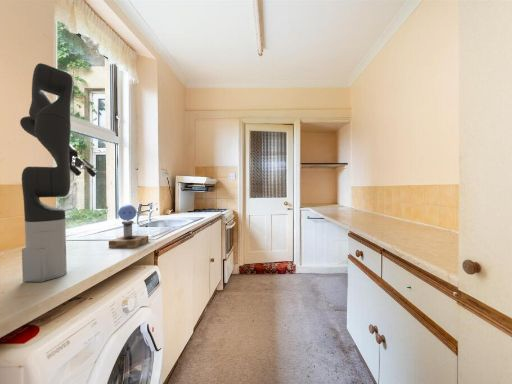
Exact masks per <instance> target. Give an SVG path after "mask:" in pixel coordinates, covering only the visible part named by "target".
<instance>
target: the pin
mask: <svg viewBox="0 0 512 384" xmlns="http://www.w3.org/2000/svg"><path fill="white" fill-rule="evenodd" d="M133 224H134V220H129V221H126V220H122V221H121V225H123V236H124V239H132V236H133Z"/></svg>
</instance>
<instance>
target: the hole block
mask: <svg viewBox="0 0 512 384" xmlns="http://www.w3.org/2000/svg"><path fill="white" fill-rule="evenodd" d="M148 241H150V239H149V235H132V239H124V235H123V236H119V237H116V238H113V239H111V240H108V248H109V249H110V248H111V249H115V248H116V249H136V248H138V247H140V246H142V245H144V243H145V244H146V242H147V243H149V242H148Z"/></svg>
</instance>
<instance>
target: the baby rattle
mask: <svg viewBox="0 0 512 384" xmlns="http://www.w3.org/2000/svg"><path fill="white" fill-rule="evenodd" d="M117 214H118V217H119V219H121V220H122V221H133V219H135V217H136V216H137V208H135V206H134V205H132V204H124V205H122V206H121V207H120V208H119V209H118V212H117Z"/></svg>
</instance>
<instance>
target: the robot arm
mask: <svg viewBox="0 0 512 384" xmlns="http://www.w3.org/2000/svg"><path fill="white" fill-rule="evenodd" d="M73 91H74V78H73V76H72V75H71V74H70V73H68V72H67V71H64V70H61V69H58V68H56V67H53V66H51V65H49V64H46V63H42V62H40V63H37V64H36V65H35V67H34V70H33V74H32V81H31V102H30V107H29V109H28V110H29V111H28V116H24V117H22V118H20V120H19V123H20V124H19V125H20V127H21V128H22V129H23V130H24V132H25V133H28V134H29V135H31V136H32V137H34V138H36V139H37V141H38V142H39V143H40V144H41V145H42V146H43V147H44V148H45V149H46V150H47V151H48V152H49V154H50V155H51V157H52V158H53V160H54V162H55V164H56V166H26V167H24V169H23V171H22V173H21V188H22V189H21V190H22V195H23V196H22V197H23V213H24V234H25V235H24V239H25V240H24V241H25V242H24V243H25V244H24V245H25V247H23V248H22V249H21V268H22V269H21V270H22V271H21V272H22V282H25V283H26V282H27V283H28V282H31V283H34V282H35V283H43V282H45V281H49V280H53V279H57V278H60V277H62V276H64V275H66V274H67V271H68V269H67V265H68V264H67V262H68V261H67V235H66V233H67V231H66V210H64V209H63V208H59V207H54V206H51V205H48V204H45V203H44V202H42V200H41V199H40V198H62V197H63V198H64V197H67V196H68V195H69V193H70V190H71V172H72V173H73V174H74V175H75V176H77V177H79V176H80V175H81V174H82V171H81V170H84V171H85V172H87V173H88V174H89V176H91V177H93V178H94V177H95V176H96V175H97V173H96V171H95V170H93V168H94V165H93V164H92V163H90V161H88V160H87V158H80V157H79V156H78V154H79V153H78V151H77V150H76V148H74V146H72V144H71V134H72V132H71V131H72V130H71V128H72V123H71V120H72V119H71V117H72V116H71V114H72V112H71V109H72V108H71V107H72V97H73ZM47 93H49V94H51V95H55V96H58V98H57V99H56V100H55V101H53V102H52V101H51V99H50V97H49V96H48V95H47Z"/></svg>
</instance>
